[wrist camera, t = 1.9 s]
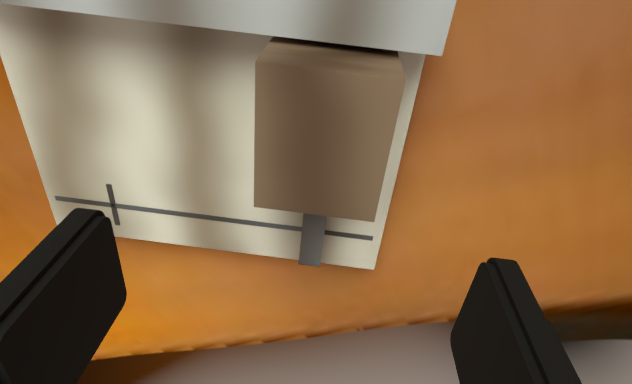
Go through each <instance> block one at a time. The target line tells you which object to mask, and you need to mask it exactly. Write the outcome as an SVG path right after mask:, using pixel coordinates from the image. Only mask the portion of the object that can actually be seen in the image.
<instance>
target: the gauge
mask: <svg viewBox="0 0 632 384" xmlns="http://www.w3.org/2000/svg"><path fill="white" fill-rule="evenodd" d="M405 81H406V78H405V75H404V72H403V68H402V65H401V61H400V58H399V55H398V51H395V50H387V49H378V48H370V47H362V46H353V45H345V44H336V43H328V42H320V41H311V40H303V39H295V38H286V37H278V36H273V37H272V39H271V40H270V41H269V43H268V44H267V46H266V47H265V48H264V50H263V51H262V53H261V54H260V55H259V57H258V58H257V60H256V61H255V133H254V207H258V208H266V209H274V210H282V211H290V212H298V213H303V222H302V233H301V243H300V253H299V264H302V265H309V266H317V267H320V262H321V255H322V247H323V240H324V233H325V225H326V218H327V216H329V217H337V218H345V219H353V220H361V221H368V222H374V221H375V216H376V212H377V207H378V203H379V198H380V194H381V189H382V185H383V180H384V176H385V171H386V167H387V162H388V158H389V153H390V149H391V144H392V140H393V135H394V131H395V126H396V121H397V117H398V112H399V108H400V103H401V99H402V94H403V90H404V85H405Z"/></svg>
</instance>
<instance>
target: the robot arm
mask: <svg viewBox="0 0 632 384" xmlns="http://www.w3.org/2000/svg"><path fill="white" fill-rule="evenodd" d="M126 294H127V293H126V287H125V283H124V278H123V273H122V269H121V264H120V260H119V255H118V251H117V246H116V241H115V237H114V232H113V228H112V223H111V220H110V218H109V217H105V214H104V213H103V212H102V211H100V210H94V209H86V208H75V209H74V210H72V211H71V212H70V213H69V214H68V215H67V216H66V217H65V218H64V219H63V220H62V221H61V222H60V223H59V224H58V225H57V226H56V227H55V228H54V229H53V230H52V231H51V232H50V233H49V234H48V235H47V236H46V237H45V238H44V239H43V240H42V241H41V242H40V243H39V245H38V246H37V247H36V248H35V249H34V250H33V251H32V252H31V253H30V254H29V255H28V256H27V257H26V258H25V259H24V260H23V261H22V262H21V263H20V264H19V265H18V266H17V267H16V268H15V269H14V270H13V271H12V272H11V273H10V274H9V275H8V276H7V277H6V278H5V279H4V280H3V281H2V282H1V283H0V384H76V383H77V382H78V380H79V379H80V377H81V375H82V374H83V372H84V370H85V369H86V367H87V365H88V364H89V362H90V360H91V359H92V357H93V355H94V354H95V352H96V350H97V349H98V347H99V346H100V344H101V342H102V341H103V339H104V337H105V336H106V334H107V332H108V331H109V329H110V327H111V326H112V324H113V322H114V321H115V319H116V317H117V316H118V314H119V312H120V311H121V309H122V308H123V306H124V304H125V301H126ZM451 348H452V352H453V357H454V361H455V364H456V369H457V373H458V377H459V381H460V384H582V383H581V381H580V379H579V377H578V375H577V373H576V371H575V369H574V368H573V366H572V363H571V361H570V360H569V358H568V356H567V354H566V352H565V350H564V348H563V346H562V344H561V342H560V340H559V338H558V336H557V334H556V332H555V330H554V328H553V326H552V325H551V323H550V322H549V321H548V320H547V319H546V318H545V317H544V315H543V313H542V311H541V309H540V307H539V305H538V303H537V301H536V299H535V297H534V295H533V293H532V291H531V289H530V287H529V285H528V283H527V281H526V279H525V277H524V275H523V273H522V271H521V269H520V267H519V265H518V263H517V262H516V261H514V260H508V259H500V258H490V259H488V261H487V263H484V262H483V263H481V264H480V265H479V268H478V270H477V272H476V275H475V277H474V279H473V282H472V284H471V287H470V289H469V291H468V294H467V296H466V298H465V301H464V303H463V306H462V308H461V310H460V313H459V315H458V318H457V320H456V322H455V325H454V327H453V329H452V332H451Z"/></svg>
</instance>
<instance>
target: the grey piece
mask: <svg viewBox="0 0 632 384" xmlns="http://www.w3.org/2000/svg"><path fill="white" fill-rule="evenodd" d="M456 1H457V0H0V55H1V58H2V61H3V64H4V67H5V70H6V73H7V76H8V79H9V82H10V85H11V88H12V91H13V94H14V97H15V100H16V103H17V106H18V109H19V112H20V115H21V118H22V121H23V124H24V127H25V130H26V133H27V136H28V139H29V142H30V145H31V148H32V151H33V154H34V157H35V160H36V163H37V166H38V169H39V173H40V176H41V179H42V182H43V185H44V188H45V191H46V194H47V197H48V200H49V203H50V206H51V209H52V212H53V215H54V218H55V221H56V224H57V225H58V224H59V223H60V222H61V221H62V220H63V219H64V218H65V217H66V216H67V215H68V214H69V213H70V212H71V211H72V210H74V209H75V208H86V209H94V210H100V211H102V212H103V213H104V214H105V217H109V218H110V220H111V223H112V228H113V232H114V236H116V237H124V238H131V239H139V240H147V241H155V242H162V243H170V244H178V245H186V246H193V247H201V248H209V249H217V250H224V251H232V252H240V253H248V254H255V255H263V256H271V257H279V258H286V259H294V260H299V253H300V243H301V233H302V222H303V213H298V212H290V211H282V210H274V209H266V208H258V207H254V133H255V61H256V60H257V58H258V57H259V55H260V54H261V53H262V51H263V50H264V48H265V47H266V46H267V44H268V43H269V41H270V40H271V39H272V37H273V36H278V37H286V38H295V39H303V40H311V41H320V42H328V43H336V44H345V45H353V46H362V47H370V48H378V49H387V50H395V51H398V55H399V58H400V61H401V65H402V68H403V72H404V75H405V78H406V81H405V85H404V90H403V94H402V99H401V103H400V108H399V112H398V117H397V121H396V126H395V131H394V135H393V140H392V144H391V149H390V153H389V158H388V162H387V167H386V171H385V176H384V180H383V185H382V189H381V194H380V198H379V203H378V207H377V212H376V216H375V221H374V222H368V221H361V220H353V219H345V218H337V217H329V216H327V218H326V225H325V233H324V240H323V247H322V255H321V262H320V263H325V264H333V265H341V266H348V267H356V268H364V269H372V270H374V268H375V263H376V259H377V255H378V251H379V247H380V243H381V239H382V234H383V230H384V226H385V222H386V218H387V214H388V209H389V205H390V201H391V197H392V193H393V189H394V185H395V180H396V176H397V172H398V168H399V164H400V160H401V155H402V151H403V147H404V143H405V139H406V135H407V131H408V126H409V122H410V118H411V114H412V110H413V106H414V101H415V97H416V93H417V89H418V85H419V81H420V77H421V72H422V68H423V64H424V60H425V56H426V54H429V55H437V56H442V54H443V50H444V46H445V42H446V39H447V35H448V31H449V27H450V23H451V20H452V16H453V12H454V8H455V4H456Z"/></svg>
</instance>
